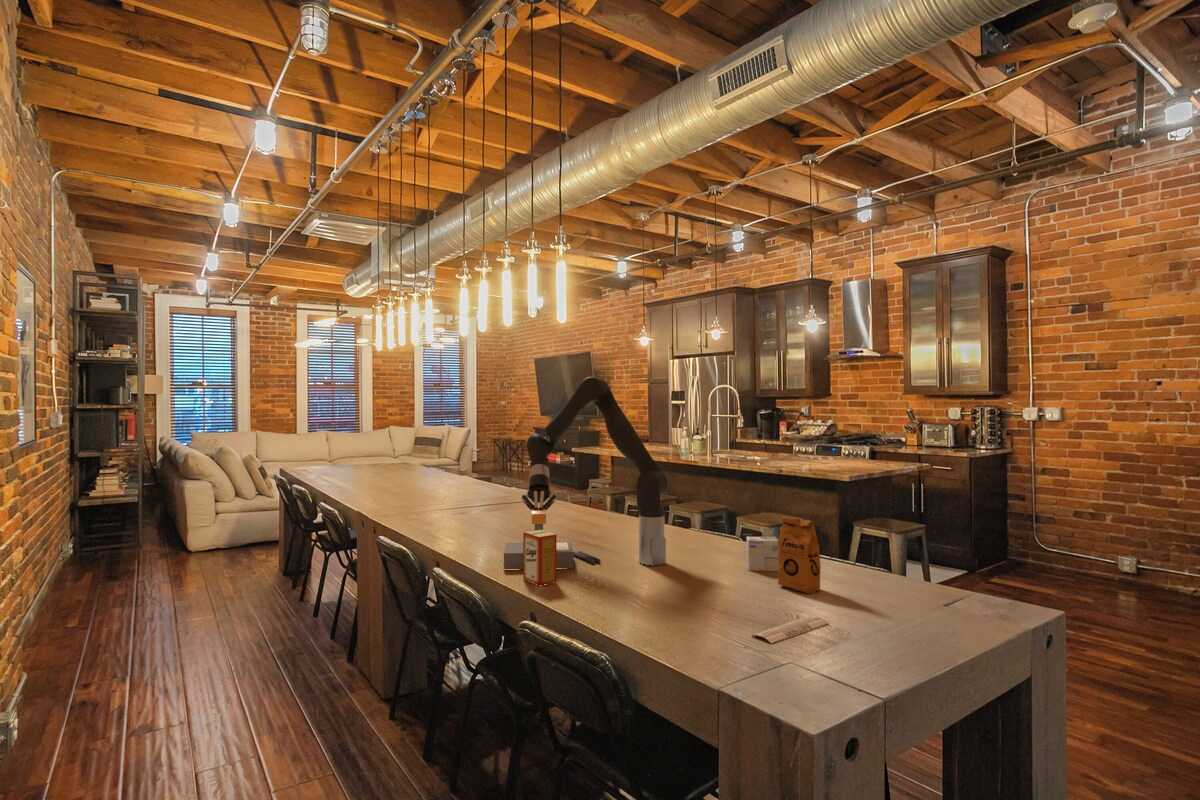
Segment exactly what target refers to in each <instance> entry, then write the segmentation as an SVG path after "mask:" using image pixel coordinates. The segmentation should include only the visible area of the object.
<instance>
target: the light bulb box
mask: <svg viewBox="0 0 1200 800" xmlns="http://www.w3.org/2000/svg"><path fill="white" fill-rule="evenodd" d="M745 539H746V567H747V570H748V571H752V572H753V571H754V572H778V571H779V569H778V539H779V538H777V536H746V537H745Z"/></svg>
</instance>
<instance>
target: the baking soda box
mask: <svg viewBox="0 0 1200 800" xmlns="http://www.w3.org/2000/svg"><path fill="white" fill-rule="evenodd" d="M522 538H523V539H522V540H523V542H522V543H523V570H522V571H523V572H522V573H523V576H522V577H523V579H525V580H527V581H530V582H533V583H535V584H537V585H539V586H540V585H544V584H549V583H553V582H556V583H557V569H556V542H557V533H553V532H549V531H547V530H544V529H543V530H535V529H534V530H531V531H530V530H529V531H523V537H522ZM523 579H522V580H523ZM525 580H524V581H525ZM527 581H526V582H527ZM537 585H536V586H537ZM549 585H550V584H549ZM539 586H538V587H539ZM544 586H545V585H544ZM540 587H541V586H540Z"/></svg>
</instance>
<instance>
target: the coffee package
mask: <svg viewBox="0 0 1200 800" xmlns="http://www.w3.org/2000/svg"><path fill="white" fill-rule="evenodd" d="M781 521H782V525H781V529H780V533H779V536H778V538H777V539H778V569H779V571H777V577H778V578H777V579H778V580H777V584H778V585H779V586H783V587H785V588H789V589H791V588H792V590H794V591H797V592H800V591H801V592H802V593H805V594H807V593H808V595H810V594H812V593H811V592H813V593H816V591H817V592H820V591H821V556H820V546H819V541H818V536H817V532H816V527H815V525H814V522H813V521H814V520H807V519H802V518H801V519H800V518H797V517H792V516H791V517H790V516H783V517H782V520H781ZM801 592H800V593H801ZM809 593H810V594H809Z"/></svg>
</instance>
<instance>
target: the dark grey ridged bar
mask: <svg viewBox="0 0 1200 800" xmlns="http://www.w3.org/2000/svg"><path fill="white" fill-rule="evenodd" d="M573 555H575V556H574V557H576V556H578V557H580V558H582V559H584V560H586V561H585V562H587V561H588V562H587V563H589V562H590V563H589V564H591V563H593V564H592V565H595V564H601V562H602V561H601V559H600V558H599V557H596V556H594V555H591V554H589V553H586V552H584V551H581V550H579V551H578V552H577V551H573ZM578 557H577V558H578ZM580 558H579V559H580ZM582 559H581V560H582ZM584 560H583V561H584ZM596 562H597V563H596ZM594 563H595V564H594Z"/></svg>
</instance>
